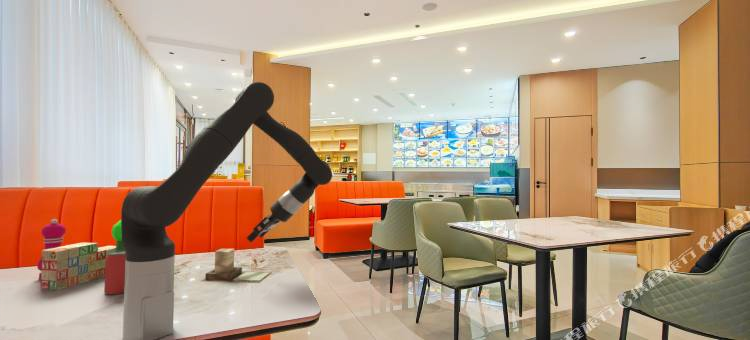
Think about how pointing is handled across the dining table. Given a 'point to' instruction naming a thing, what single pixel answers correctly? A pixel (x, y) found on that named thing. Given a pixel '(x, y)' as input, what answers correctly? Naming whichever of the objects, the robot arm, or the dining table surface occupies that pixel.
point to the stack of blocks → (73, 264)
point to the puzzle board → (236, 276)
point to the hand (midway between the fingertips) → (254, 237)
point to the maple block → (224, 261)
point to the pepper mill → (52, 237)
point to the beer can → (115, 272)
